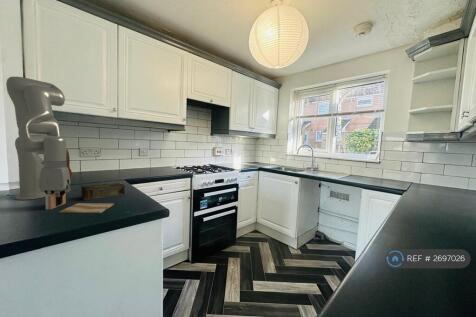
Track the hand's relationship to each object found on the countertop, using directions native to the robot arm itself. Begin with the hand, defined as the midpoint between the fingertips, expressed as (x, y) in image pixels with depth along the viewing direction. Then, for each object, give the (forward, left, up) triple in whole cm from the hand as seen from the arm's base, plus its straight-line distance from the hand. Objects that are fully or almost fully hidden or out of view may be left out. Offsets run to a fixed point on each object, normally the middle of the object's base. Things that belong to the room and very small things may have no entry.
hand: (56, 204), depth 92 cm
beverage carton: (-18, +11, -1) cm, 21 cm away
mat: (+3, +15, -1) cm, 16 cm away
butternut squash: (-47, -31, -1) cm, 56 cm away
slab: (0, 0, -1) cm, 1 cm away
